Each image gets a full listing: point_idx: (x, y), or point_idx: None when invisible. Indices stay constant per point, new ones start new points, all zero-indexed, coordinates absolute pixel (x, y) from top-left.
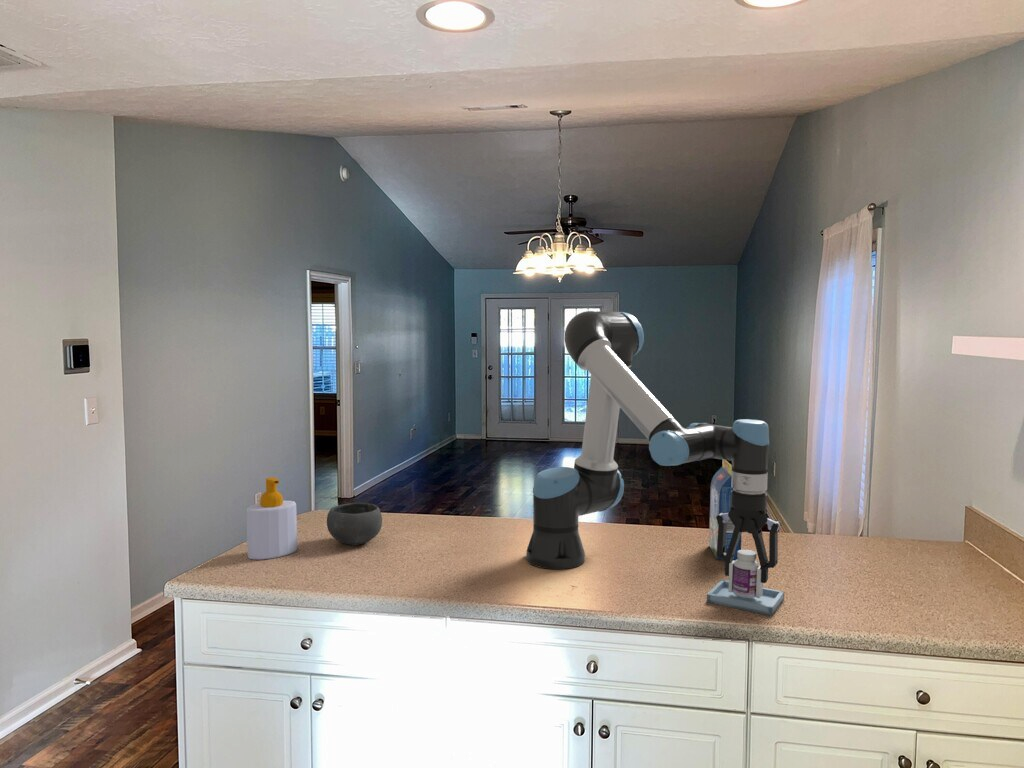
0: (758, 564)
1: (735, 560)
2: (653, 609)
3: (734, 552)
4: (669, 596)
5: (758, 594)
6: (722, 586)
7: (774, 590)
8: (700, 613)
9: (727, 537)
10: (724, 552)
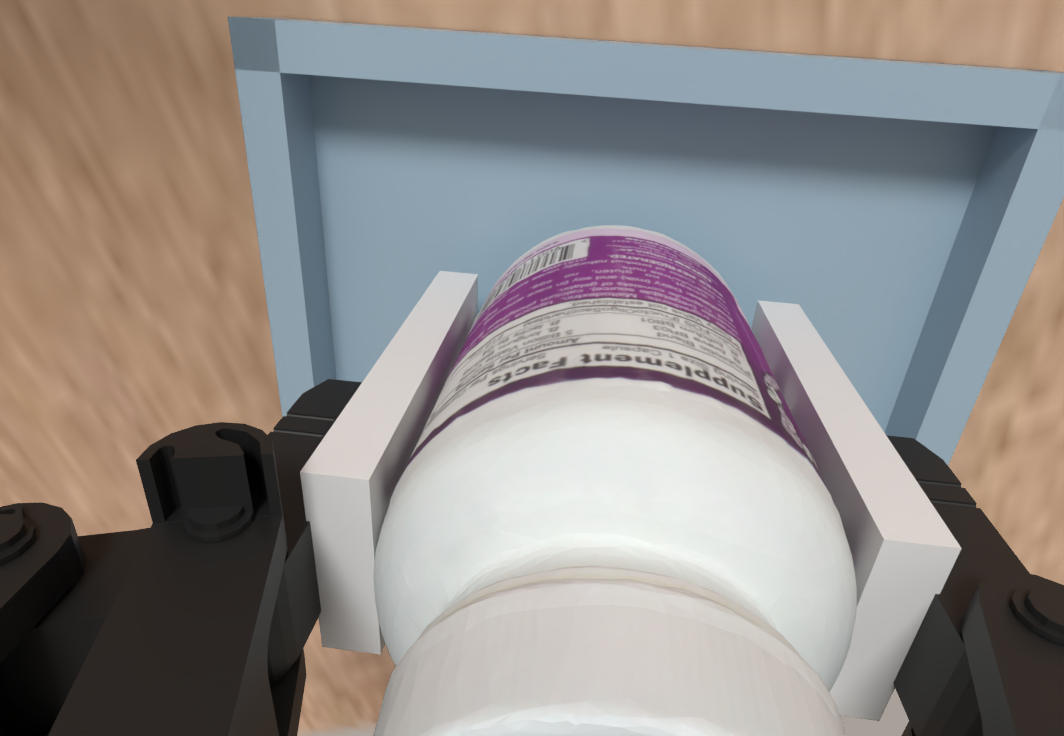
0: (854, 617)
1: (382, 621)
2: None
3: (256, 669)
4: (55, 485)
5: None
6: (308, 143)
7: (967, 98)
8: (373, 661)
9: None
10: (49, 635)
